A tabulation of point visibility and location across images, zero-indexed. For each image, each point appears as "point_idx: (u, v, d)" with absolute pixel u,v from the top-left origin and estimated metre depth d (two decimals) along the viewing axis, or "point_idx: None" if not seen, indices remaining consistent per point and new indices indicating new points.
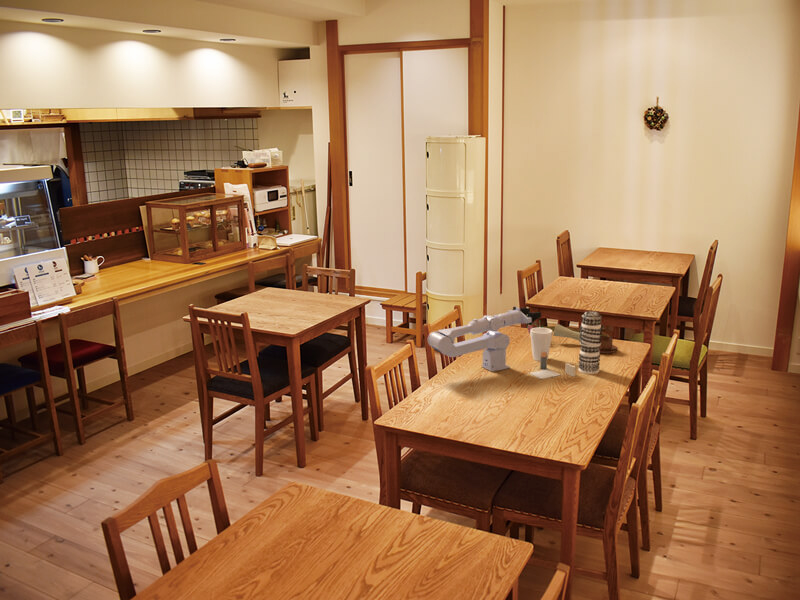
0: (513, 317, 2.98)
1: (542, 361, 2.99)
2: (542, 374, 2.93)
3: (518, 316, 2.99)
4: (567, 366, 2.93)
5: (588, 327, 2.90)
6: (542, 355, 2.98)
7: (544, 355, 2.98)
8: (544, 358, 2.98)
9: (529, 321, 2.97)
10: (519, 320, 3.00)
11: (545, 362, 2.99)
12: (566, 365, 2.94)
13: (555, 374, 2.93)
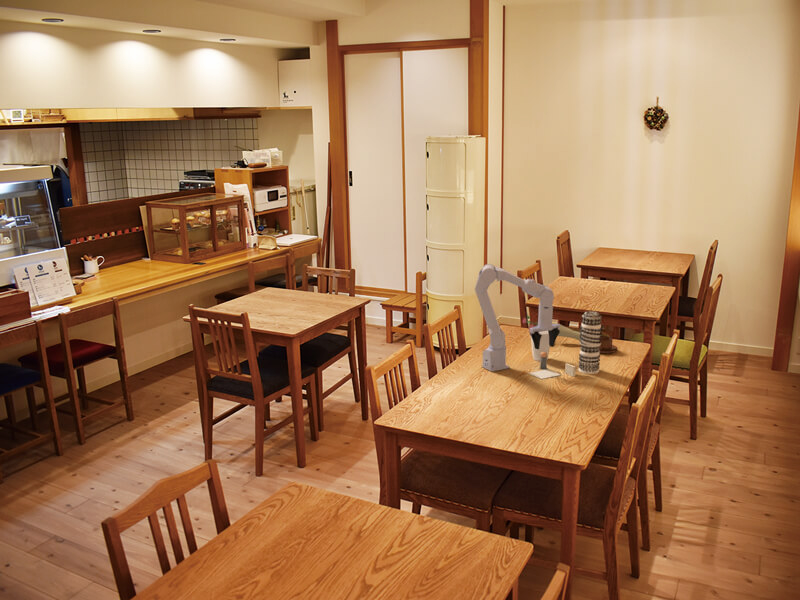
0: (542, 318, 2.93)
1: (542, 361, 2.99)
2: (542, 374, 2.93)
3: (541, 324, 2.94)
4: (567, 366, 2.93)
5: (588, 327, 2.90)
6: (542, 355, 2.98)
7: (544, 355, 2.98)
8: (544, 358, 2.98)
9: (530, 330, 2.93)
10: (538, 324, 2.95)
11: (545, 362, 2.99)
12: (566, 365, 2.94)
13: (555, 374, 2.93)
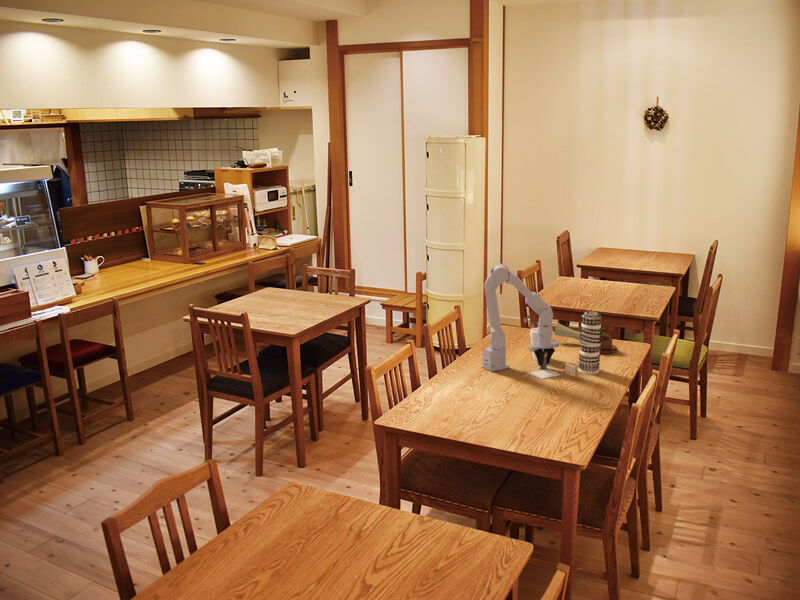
0: (541, 336, 2.95)
1: None
2: (542, 374, 2.93)
3: (541, 342, 2.96)
4: (567, 366, 2.93)
5: (588, 327, 2.90)
6: None
7: (544, 355, 2.98)
8: (544, 358, 2.98)
9: (529, 348, 2.95)
10: (538, 342, 2.97)
11: (545, 362, 2.99)
12: (566, 365, 2.94)
13: (555, 374, 2.93)
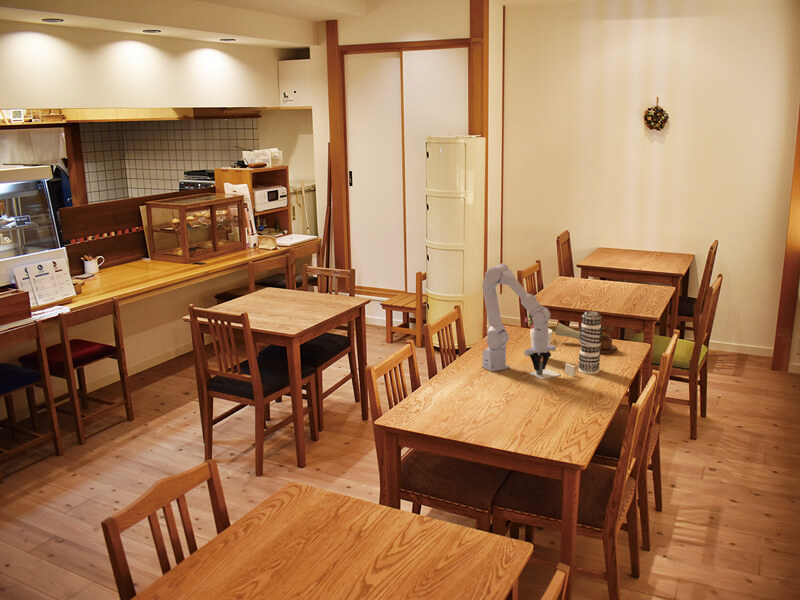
0: (537, 340, 2.88)
1: None
2: (542, 374, 2.93)
3: (536, 346, 2.88)
4: (567, 366, 2.93)
5: (588, 327, 2.90)
6: None
7: (540, 359, 2.90)
8: (540, 362, 2.91)
9: (525, 352, 2.88)
10: (533, 346, 2.90)
11: (541, 367, 2.91)
12: (566, 365, 2.94)
13: (555, 374, 2.93)
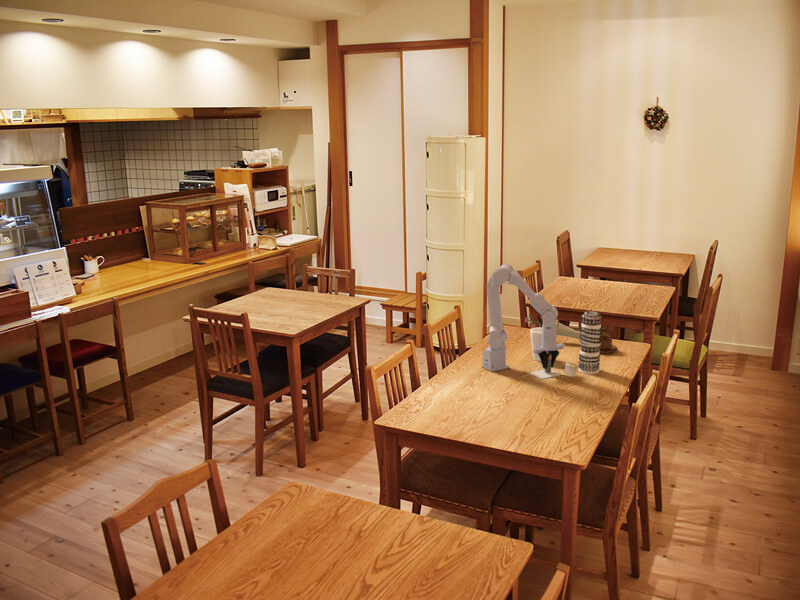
0: (545, 338, 2.90)
1: None
2: (542, 374, 2.93)
3: (545, 344, 2.91)
4: (567, 366, 2.93)
5: (588, 327, 2.90)
6: None
7: (548, 358, 2.93)
8: (548, 361, 2.93)
9: (533, 350, 2.90)
10: (542, 344, 2.92)
11: (549, 365, 2.94)
12: (566, 365, 2.94)
13: (555, 374, 2.93)
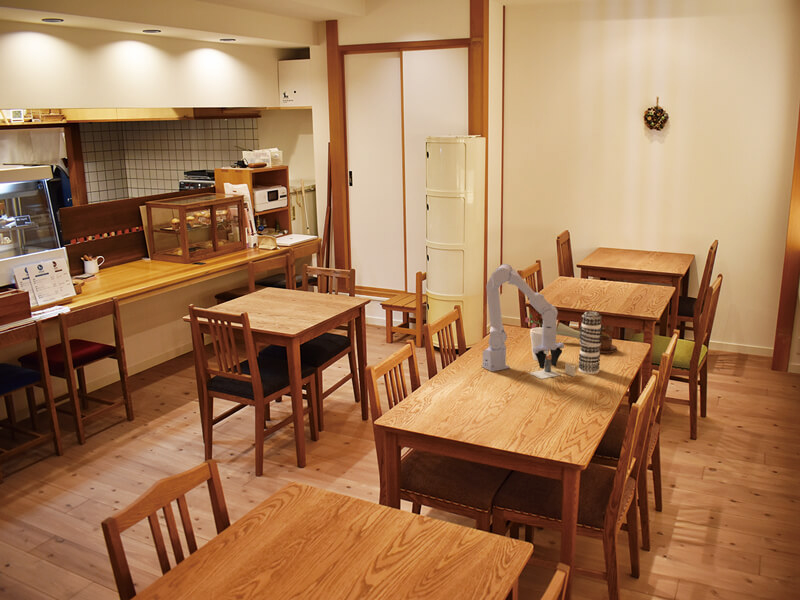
0: (545, 338, 2.91)
1: (546, 363, 2.95)
2: (542, 374, 2.93)
3: (545, 344, 2.92)
4: (567, 366, 2.93)
5: (588, 327, 2.90)
6: (546, 357, 2.94)
7: (548, 357, 2.94)
8: (548, 360, 2.94)
9: (533, 349, 2.91)
10: (542, 343, 2.93)
11: (549, 364, 2.95)
12: (566, 365, 2.94)
13: (555, 374, 2.93)
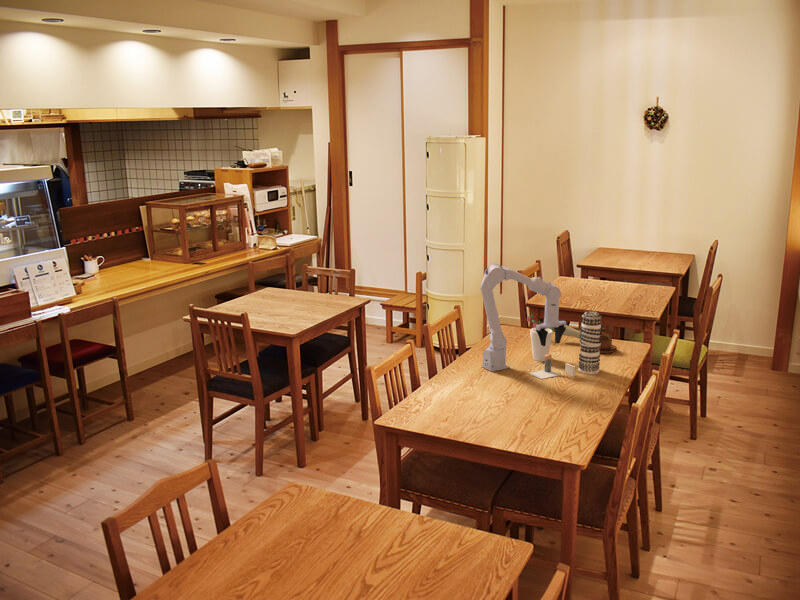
0: (548, 315, 2.96)
1: (546, 363, 2.95)
2: (542, 374, 2.93)
3: (548, 321, 2.96)
4: (567, 366, 2.93)
5: (588, 327, 2.90)
6: (546, 357, 2.94)
7: (548, 357, 2.94)
8: (548, 360, 2.94)
9: (536, 327, 2.96)
10: (544, 321, 2.98)
11: (549, 364, 2.95)
12: (566, 365, 2.94)
13: (555, 374, 2.93)
